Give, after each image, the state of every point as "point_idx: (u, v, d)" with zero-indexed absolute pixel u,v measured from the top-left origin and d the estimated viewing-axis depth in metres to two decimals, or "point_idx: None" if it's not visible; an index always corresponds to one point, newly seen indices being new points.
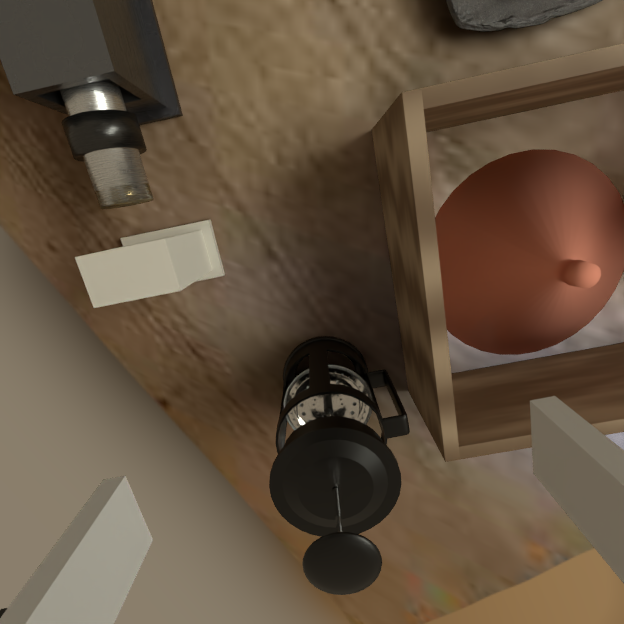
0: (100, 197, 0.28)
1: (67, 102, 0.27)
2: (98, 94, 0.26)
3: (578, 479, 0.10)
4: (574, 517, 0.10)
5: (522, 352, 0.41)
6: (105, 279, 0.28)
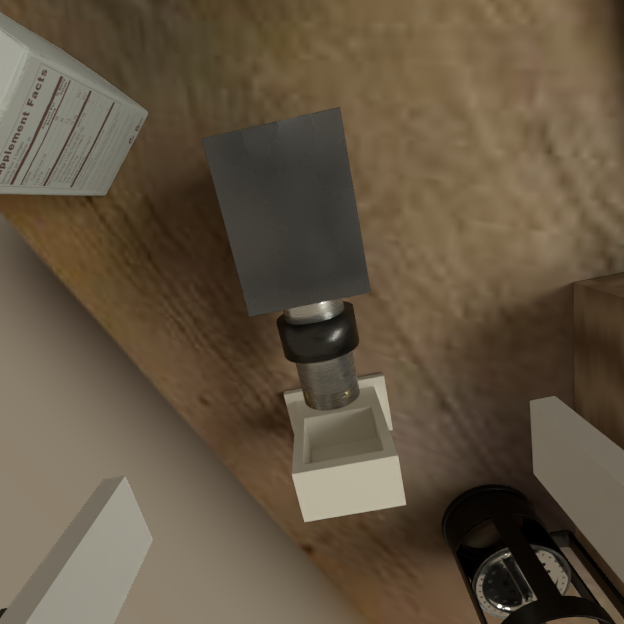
0: (314, 401, 0.25)
1: None
2: None
3: (578, 479, 0.10)
4: (574, 517, 0.10)
5: None
6: (322, 495, 0.25)
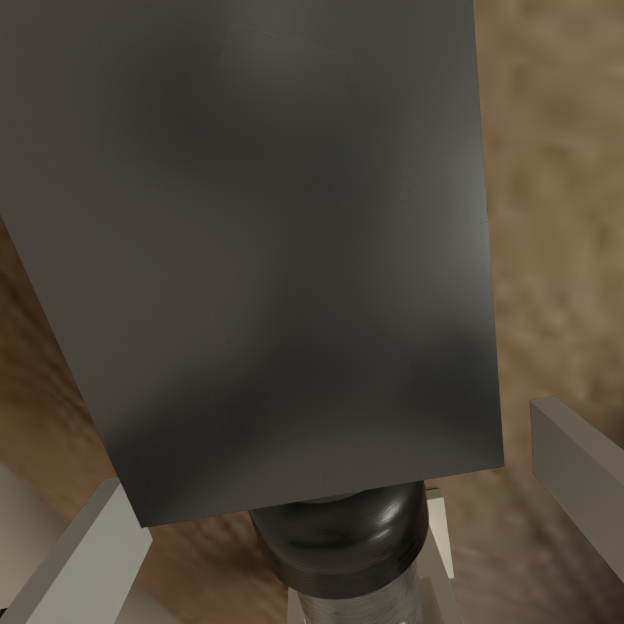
0: None
1: None
2: None
3: (578, 479, 0.10)
4: (574, 517, 0.10)
5: None
6: None
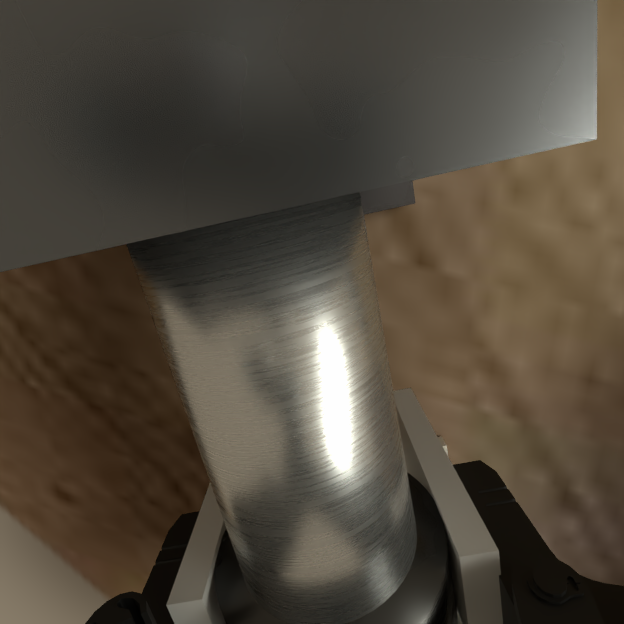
0: None
1: (256, 569, 0.07)
2: (382, 545, 0.07)
3: (409, 454, 0.12)
4: None
5: None
6: None
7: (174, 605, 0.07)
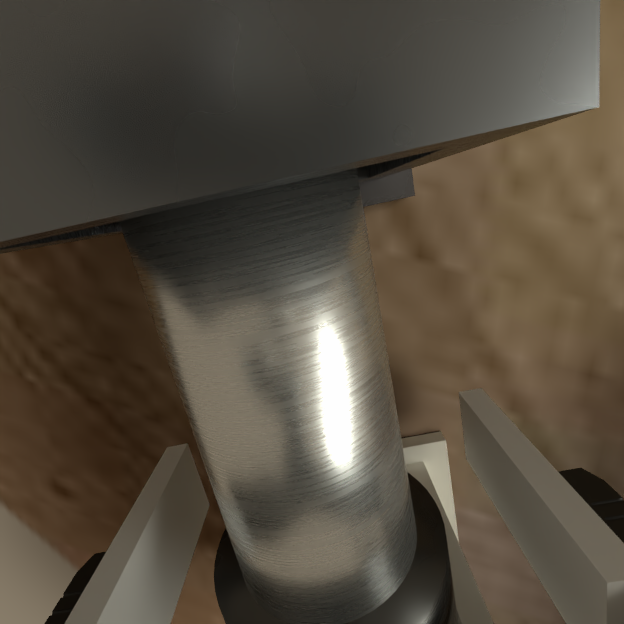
0: None
1: (255, 569, 0.07)
2: (382, 545, 0.07)
3: (490, 460, 0.11)
4: (491, 495, 0.11)
5: None
6: None
7: None
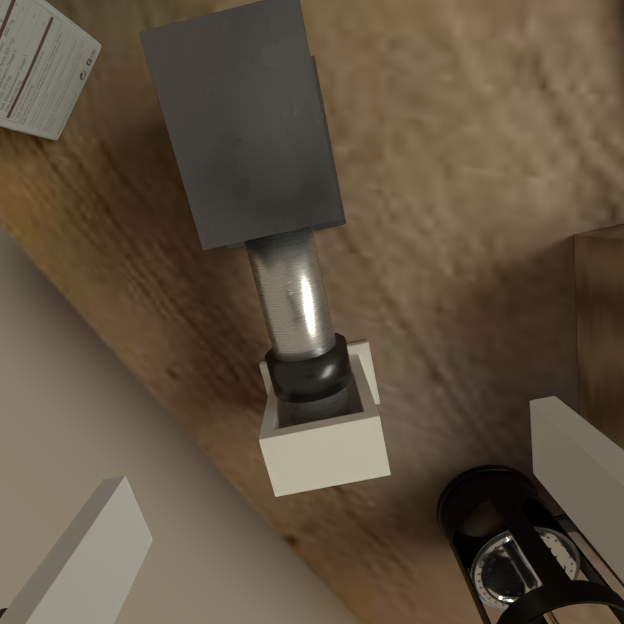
0: None
1: (281, 343, 0.22)
2: (320, 334, 0.22)
3: (578, 479, 0.10)
4: (574, 517, 0.10)
5: None
6: (295, 464, 0.22)
7: None
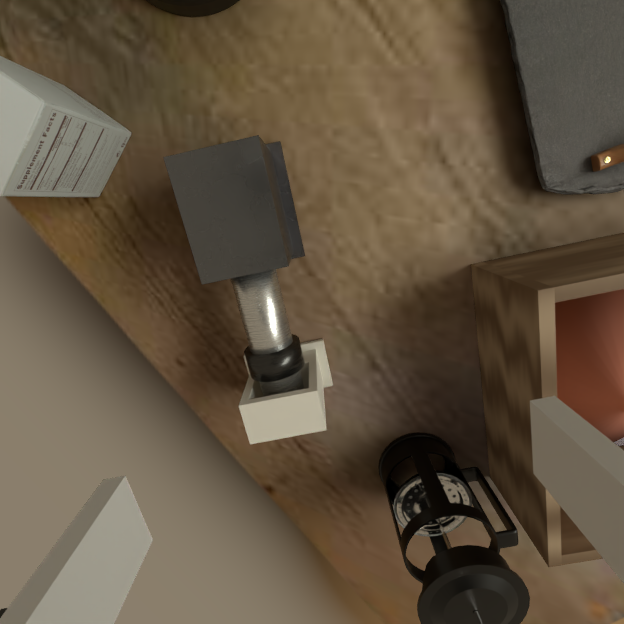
0: None
1: (254, 342, 0.33)
2: (279, 336, 0.33)
3: (578, 479, 0.10)
4: (574, 517, 0.10)
5: None
6: (262, 422, 0.33)
7: None
